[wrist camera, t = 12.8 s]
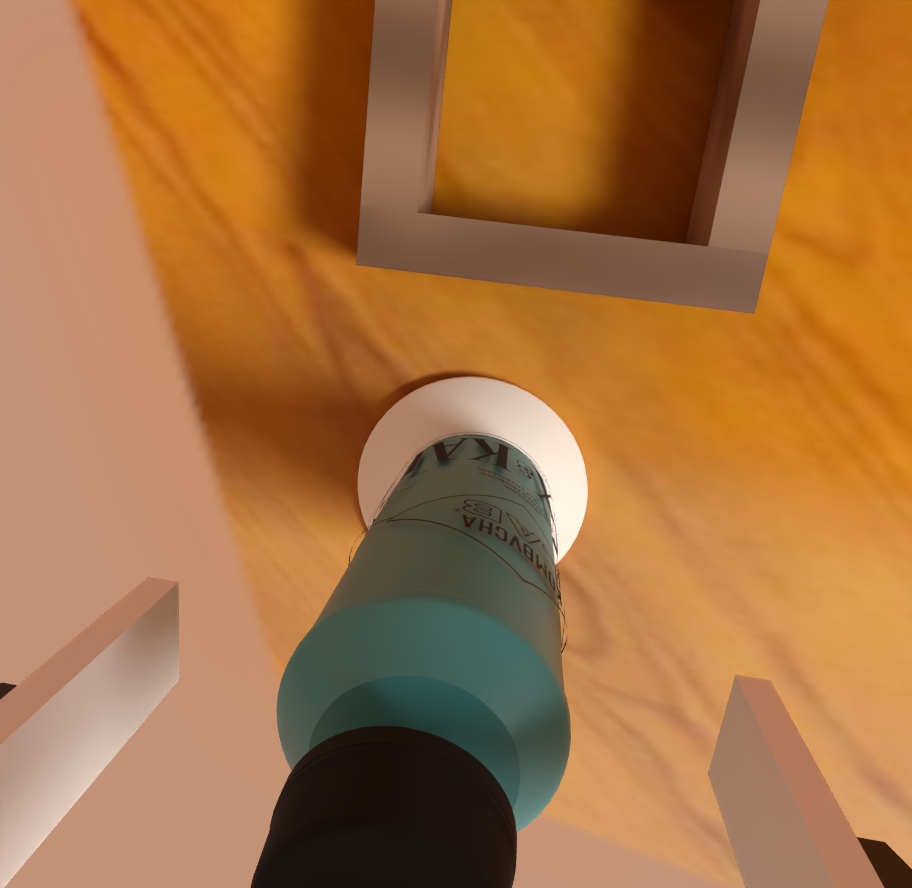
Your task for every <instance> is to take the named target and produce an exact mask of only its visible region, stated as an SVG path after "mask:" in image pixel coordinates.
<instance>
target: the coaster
mask: <svg viewBox="0 0 912 888" xmlns="http://www.w3.org/2000/svg"><path fill="white" fill-rule="evenodd" d="M461 432H466V433H461ZM476 432H481V433H476ZM453 433H456V434H453ZM485 433H487V434H485ZM450 434H451V435H450ZM463 434H479V435H487V436H491V437H495V438H498V439H501V440H503V441H505V442H507V443H509V444H511V445H513V446H514V447H516V448H517V449H519V450H520V451H521V452H523V454H524V455H526V456H528V458H530V459H531V460H532V461H533V462H534V463H533V462H532V463H533V464H535V465H536V466H537V467H538V468H539V467H540V468H539V469H538V468H537V467H536V466H535V467H536V468H537V470H538V471H539V470H540V471H541V472H540V471H539V473H540V475H541V477H542V478H543V481H544V483H545V486H546V489H547V493H548V495H551V498H552V499H553V500H552V499H551V498H549V502H550V507H551V511H552V515H554V514H555V516H554V517H553V520H554V523H553V521H552V518H551V513H550V518H551V525H552V526H551V528H553V529H552V531H553V532H554V533H553V532H552V537H553V538H554V539H555V544H556V534H557V544H558V559H557V554H556V550H555V547H554V544H553V550H554V557H555V558H554V561H555V565H556V563H558V562H559V561H560V560H561V559H562V557H563V556H564V555H565V554H566V552H567V551H568V550H569V548H570V547H571V545H572V543H573V542H574V540H575V538H576V537H577V534H578V532H579V530H580V527H581V525H582V522H583V518H584V514H585V510H586V503H587V477H586V471H585V465H584V462H583V459H582V456H581V452H580V449H579V447H578V445H577V443H576V440H575V438H574V436H573V434H572V433H571V431H570V430H569V428H568V427H567V425H566V424H565V422H564V421H563V420H562V419H561V418H560V416H559V415H558V414H557V413H556V412H555V411H554V410H553V409H552V408H551V407H550V406H549V405H547V404H546V403H545V402H544V401H543V400H541V399H540V398H538V397H537V396H535V395H534V394H532V393H531V392H529V391H527V390H525V389H523V388H521V387H519V386H517V385H515V384H512V383H509V382H506V381H503V380H499V379H494V378H489V377H479V376H461V377H452V378H447V379H442V380H438V381H435V382H432V383H429V384H426V385H424V386H422V387H420V388H418V389H416V390H414V391H412V392H411V393H409V394H408V395H406V396H405V397H403V398H402V399H400V400H399V401H398V402H397V403H396V404H395V405H394V406H392V407H391V408H390V409H389V410H388V411H387V412H386V414H385V415H384V416H383V417H382V418H381V419H380V421H379V422H378V423H377V425H376V426H375V428H374V429H373V431H372V432H371V434H370V436H369V438H368V440H367V442H366V445H365V447H364V450H363V453H362V456H361V460H360V464H359V471H358V497H359V504H360V508H361V512H362V516H363V519H364V521H365V524H366V526H367V527H368V531H369V529H370V526H371V525H372V523H373V519H374V520H375V519H376V518H377V516H378V514H379V513H380V511H381V510H382V508H383V506H384V505H385V503H386V502H384V504H383V505H382V503H383V501H385V500H386V499H388V497H390V495H391V494H392V493H391V492H393V490H394V488H395V487H396V486H397V484H398V482H399V481H400V479H401V478H402V476H403V474H404V473H405V471H406V470H407V468H408V466H409V465H410V464H411V462H412V461H413V460H414V459H415V457H416V455H417V454H419V453H420V452H421V451H423V450H425V449H426V448H427V447H429V446H430V445H429V444H431V445H432V444H434V443H433V442H437V440H442V439H444V438H448V437H451V436H455V435H463ZM490 434H492V435H490ZM446 435H447V436H446ZM494 435H496V436H494ZM442 436H444V437H442ZM497 436H499V437H497ZM440 437H441V438H440ZM500 437H501V438H500ZM503 438H504V439H503ZM435 439H436V440H435ZM505 439H506V440H505ZM433 440H434V441H433ZM507 440H508V441H507ZM431 441H432V442H431ZM509 441H510V442H509ZM511 442H512V443H511ZM513 443H514V444H513ZM426 444H427V445H426ZM515 444H516V445H517V446H516V445H515ZM423 446H424V447H425V448H424V447H423ZM519 447H520V448H519ZM422 448H423V449H422ZM419 449H420V450H421V451H420V450H419ZM522 449H523V450H524V451H525V452H524V451H523V450H522ZM417 452H418V453H417ZM416 453H417V454H416ZM529 455H530V456H531V457H532V458H531V457H530V456H529ZM413 457H414V458H413ZM412 458H413V459H412ZM407 463H408V464H407ZM406 464H407V465H406ZM537 464H538V465H537ZM405 465H406V466H405ZM404 466H405V467H404ZM402 468H403V470H402ZM542 471H543V472H542ZM400 472H401V473H400ZM543 473H544V474H543ZM398 474H399V475H398ZM542 475H543V476H544V475H545V476H544V477H543V476H542ZM396 478H397V479H396ZM395 479H396V480H397V481H396V480H395ZM545 480H546V481H545ZM393 482H394V484H393ZM546 482H547V483H546ZM392 484H393V485H392ZM547 484H548V485H547ZM391 485H392V487H391ZM394 486H395V487H394ZM549 486H550V487H549ZM390 487H391V488H393V490H392V489H391V488H390ZM389 489H390V490H389ZM550 489H551V490H550ZM388 490H389V491H388ZM390 491H391V492H390ZM387 492H388V493H387ZM549 492H551V493H549ZM386 493H387V494H386ZM389 494H390V495H389ZM385 495H386V497H387V498H386V497H385V498H386V499H383V498H384V496H385ZM388 495H389V496H388ZM382 499H383V501H382ZM381 501H382V502H381ZM386 501H387V500H386ZM380 503H381V504H380ZM379 504H380V505H379ZM381 505H382V507H381V508H379V507H380V506H381ZM378 506H379V507H378ZM553 506H554V507H553ZM377 508H378V509H377ZM379 509H380V510H379ZM378 510H379V511H378ZM373 513H374V514H373ZM375 513H376V514H375ZM372 515H373V516H372ZM374 516H375V517H374ZM368 521H369V522H368ZM552 523H553V524H552ZM554 524H556V532H555V526H553V525H554ZM368 525H369V526H368ZM556 549H557V545H556Z"/></svg>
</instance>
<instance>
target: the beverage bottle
mask: <svg viewBox="0 0 912 888" xmlns="http://www.w3.org/2000/svg"><path fill="white" fill-rule="evenodd" d="M461 433H466V432H461ZM476 433H481V432H476ZM453 434H456V433H453ZM485 434H487V433H485ZM450 435H451V434H450ZM490 435H492V434H490ZM446 436H447V435H446ZM494 436H496V435H494ZM442 437H444V436H442ZM497 437H499V436H497ZM440 438H441V437H440ZM500 438H501V437H500ZM503 439H504V438H503ZM435 440H436V439H435ZM505 440H506V439H505ZM433 441H434V440H433ZM507 441H508V440H507ZM431 442H432V441H431ZM509 442H510V441H509ZM433 443H434V444H432V445H431V444H429V445H430V446H429V447H427V448H426V449H425V450H423V451H421V450H420V449H419V450H420V451H421V452H420V453H419V454H417V453H418V452H417V453H416V454H417V455H416V457H415V459H414V460H413V461H412V462H411V464H410V465H409V466H408V468H407V470H406V471H405V473H404V474H403V476H402V478H401V479H400V481H399V482H398V484H397V486H396V487H395V486H394V487H395V488H394V490H393V488H391V487H392V485H393V484H394V482H393V484H392V485H391V487H390V488H391V489H392V490H393V492H391V491H390V492H391V493H392V494H391V495H390V494H389V495H390V497H388V499H386V498H387V497H386V495H385V496H384V498H383V499H386V500H387V501H386V500H385V501H383V499H382V501H383V503H382V505H383V504H384V502H386V503H385V505H384V506H383V508H382V510H381V511H380V513H379V514H378V516H377V518H376V519H375V520H374V519H373V523H372V525H371V526H370V529H369V531H368V532H366V533H367V534H366V535H365V537H364V539H363V540H362V542H361V544H360V545H359V547H358V549H357V551H356V553H355V555H354V558H353V560H352V561H351V563H350V565H349V566H348V568H347V570H346V572H345V573H344V575H343V577H342V578H341V580H340V582H339V583H338V585H337V587H336V588H335V590H334V592H333V594H332V595H331V597H330V599H329V600H328V602H327V604H326V605H325V607H324V609H323V610H322V612H321V614H320V616H319V617H318V619H317V621H316V622H315V624H314V626H313V627H312V629H311V630H310V631H309V632H308V633H307V635H306V636H305V637H304V638H303V640H302V641H301V642H300V643H299V645H298V647H297V648H296V650H295V652H294V653H293V655H292V657H291V658H290V660H289V662H288V664H287V667H286V669H285V672H284V674H283V677H282V679H281V683H280V688H279V692H278V699H277V723H278V732H279V737H280V741H281V746H282V749H283V752H284V754H285V757H286V760H287V762H288V764H289V766H290V768H291V770H292V772H291V773H290V775H289V776H288V779H287V781H286V783H285V785H284V788H283V790H282V792H281V794H280V796H279V799H278V801H277V804H276V806H275V809H274V812H273V816H272V820H271V824H270V831H269V834H268V837H267V840H266V842H265V845H264V848H263V851H262V854H261V856H260V859H259V862H258V865H257V868H256V870H255V873H254V876H253V880H252V884H251V888H512V885H513V881H514V875H515V869H516V854H517V832H518V831H519V830H521V829H523V828H524V827H526V826H527V825H528V824H530V823H531V822H532V821H533V820H534V819H535V818H536V817H537V816H538V815H539V814H540V813H541V812H542V811H543V809H544V808H545V807H546V806H547V804H548V803H549V802H550V801H551V799H552V797H553V795H554V794H555V792H556V790H557V789H558V787H559V784H560V782H561V779H562V777H563V775H564V772H565V769H566V765H567V761H568V757H569V751H570V742H571V730H570V714H569V708H568V703H567V698H566V696H565V693H564V683H563V669H562V656H561V654H562V652H563V650H564V648H563V650H562V652H561V646H562V644H561V626H560V614H559V609H560V608H559V603H558V600H559V599H560V602H561V593H560V595H558V594H559V592H560V591H561V590H558V586H557V583H558V582H557V577H559V574H560V573H558V575H557V576H556V568H557V567H558V566H557V567H556V568H555V566H556V565H555V561H554V558H555V557H554V550H553V544H554V547H555V550H556V554H557V559H558V544H557V534H556V544H555V539H554V538H553V537H552V532H553V531H552V529H553V528H551V526H552V525H551V518H552V521H553V523H554V520H553V517H554V516H555V514H554V515H552V511H551V507H550V502H549V498H551V495H548V493H547V489H546V486H545V483H544V481H543V478H542V477H541V475H540V473H539V471H540V470H539V471H538V470H537V468H538V467H537V466H536V465H535V464H533V463H534V462H533V461H532V460H531V459H530V458H528V456H526V455H524V454H523V452H521V451H520V450H519V449H517V448H516V447H514V446H513V445H511V444H509V443H507V442H505V441H503V440H501V439H498V438H495V437H491V436H487V435H479V434H463V435H455V436H451V437H448V438H444V439H442V440H437V442H433ZM511 443H512V442H511ZM513 444H514V443H513ZM426 445H427V444H426ZM515 445H516V444H515ZM516 446H517V445H516ZM423 447H424V446H423ZM424 448H425V447H424ZM519 448H520V447H519ZM422 449H423V448H422ZM522 450H523V449H522ZM523 451H524V450H523ZM524 452H525V451H524ZM529 456H530V455H529ZM530 457H531V456H530ZM413 458H414V457H413ZM413 458H412V459H413ZM531 458H532V457H531ZM532 462H533V463H532ZM407 464H408V463H407ZM407 464H406V465H407ZM406 465H405V466H406ZM537 465H538V464H537ZM405 466H404V467H405ZM535 466H536V467H537V468H536V467H535ZM539 468H540V467H539ZM539 468H538V469H539ZM402 470H403V468H402ZM540 472H541V471H540ZM542 472H543V471H542ZM400 473H401V472H400ZM543 474H544V473H543ZM398 475H399V474H398ZM542 476H543V475H542ZM544 476H545V475H544ZM544 476H543V477H544ZM396 479H397V478H396ZM396 479H395V480H396ZM396 481H397V480H396ZM545 481H546V480H545ZM546 483H547V482H546ZM547 485H548V484H547ZM549 487H550V486H549ZM389 490H390V489H389ZM389 490H388V491H389ZM550 490H551V489H550ZM387 493H388V492H387ZM387 493H386V494H387ZM549 493H551V492H549ZM389 495H388V496H389ZM385 497H386V498H385ZM551 499H552V498H551ZM552 500H553V499H552ZM382 501H381V502H382ZM380 504H381V503H380ZM380 504H379V505H380ZM382 505H381V506H380V507H379V506H378V507H379V508H381V507H382ZM553 507H554V506H553ZM377 509H378V508H377ZM379 510H380V509H379ZM379 510H378V511H379ZM550 513H551V518H550ZM373 514H374V513H373ZM375 514H376V513H375ZM372 516H373V515H372ZM374 517H375V516H374ZM368 522H369V521H368ZM553 523H552V524H553ZM365 526H366V525H365ZM368 526H369V525H368ZM553 526H555V532H556V524H554V525H553ZM367 529H368V527H367ZM367 529H366V530H367ZM363 530H364V529H363ZM363 532H364V531H362V533H363ZM553 533H554V532H553ZM361 535H362V534H361ZM355 542H356V541H355ZM556 545H557V549H556ZM351 550H352V549H351ZM350 554H351V553H350ZM349 562H350V556H349ZM556 564H557V563H556ZM557 571H559V570H557ZM560 578H561V577H560ZM558 585H560V581H559V584H558ZM559 588H560V587H559ZM562 589H563V588H562ZM557 590H558V593H557ZM563 596H564V595H563ZM561 607H562V603H561ZM564 609H565V608H564ZM560 610H561V609H560ZM561 612H562V611H561ZM562 614H563V613H562ZM563 616H564V624H565V622H566V621H565V612H564V615H563ZM566 626H567V625H566ZM563 632H564V629H563ZM562 641H563V638H562ZM566 642H567V639H566ZM565 645H566V643H565ZM565 645H564V647H565Z"/></svg>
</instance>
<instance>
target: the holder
mask: <svg viewBox="0 0 912 888" xmlns="http://www.w3.org/2000/svg"><path fill="white" fill-rule="evenodd" d="M827 4H828V0H734V4H733V9H732V14H731V19H730V24H729V29H728V34H727V39H726V44H725V49H724V53H723V58H722V63H721V68H720V73H719V78H718V83H717V88H716V93H715V98H714V103H713V108H712V113H711V118H710V123H709V128H708V133H707V138H706V142H705V147H704V152H703V157H702V162H701V167H700V172H699V177H698V182H697V187H696V192H695V197H694V202H693V207H692V212H691V217H690V222H689V227H688V232H687V236H686V241H685V244H682V243H673V242H665V241H656V240H648V239H639V238H631V237H622V236H613V235H605V234H596V233H588V232H579V231H570V230H562V229H553V228H545V227H536V226H528V225H519V224H510V223H502V222H493V221H485V220H476V219H468V218H459V217H450V216H442V215H433V214H431V208H432V198H433V188H434V178H435V168H436V158H437V148H438V138H439V128H440V118H441V108H442V98H443V88H444V78H445V68H446V57H447V47H448V37H449V27H450V17H451V7H452V0H375V8H374V22H373V36H372V50H371V64H370V78H369V92H368V106H367V120H366V134H365V148H364V162H363V176H362V190H361V204H360V218H359V232H358V246H357V260H356V265H361V266H369V267H377V268H385V269H394V270H402V271H410V272H418V273H426V274H434V275H443V276H451V277H459V278H467V279H475V280H483V281H492V282H500V283H508V284H516V285H524V286H532V287H541V288H549V289H557V290H565V291H573V292H581V293H590V294H598V295H606V296H614V297H622V298H630V299H639V300H647V301H655V302H663V303H671V304H679V305H688V306H696V307H704V308H712V309H720V310H728V311H737V312H745V313H753V314H754V313H755V309H756V304H757V300H758V296H759V292H760V288H761V283H762V279H763V275H764V271H765V266H766V262H767V258H768V254H769V249H770V245H771V241H772V237H773V233H774V228H775V224H776V220H777V216H778V211H779V207H780V203H781V199H782V194H783V190H784V186H785V182H786V178H787V173H788V169H789V165H790V161H791V156H792V152H793V148H794V144H795V140H796V135H797V131H798V127H799V123H800V118H801V114H802V110H803V106H804V101H805V97H806V93H807V89H808V85H809V80H810V76H811V72H812V68H813V63H814V59H815V55H816V51H817V46H818V42H819V38H820V34H821V30H822V25H823V21H824V17H825V13H826V8H827Z"/></svg>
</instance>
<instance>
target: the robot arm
mask: <svg viewBox="0 0 912 888" xmlns="http://www.w3.org/2000/svg"><path fill="white" fill-rule="evenodd" d="M178 602H179V601H178V582H175V581H169V580H163V579H157V578H151V577H148V578H146V579H145V580H144V581H143V582H142V583H140V584H139V585H138V586H137V587H136V588H134V589H133V590H132V591H131V592H130V593H128V594H127V595H126V596H125V597H124V598H122V599H121V600H120V601H119V602H117V603H116V604H115V605H114V606H113V607H111V608H110V609H109V610H108V611H107V612H105V613H104V614H103V615H102V616H101V617H99V618H98V619H97V620H96V621H95V622H93V623H92V624H91V625H90V626H89V627H87V628H86V629H85V630H84V631H82V632H81V633H80V634H79V635H78V636H77V637H75V638H74V639H73V640H72V641H70V642H69V643H68V644H67V645H66V646H65V647H63V648H62V649H61V650H60V651H58V652H57V653H56V654H55V655H54V656H52V657H51V658H50V659H49V660H48V661H46V662H45V663H44V664H43V665H41V666H40V667H39V668H38V669H37V670H36V671H34V672H33V673H32V674H31V675H29V676H28V677H27V678H26V679H25V680H23V681H22V682H21V683H20V684H19V685H12V684H7V683H0V888H4V887H5V886H6V885H7V883H8V882H9V881H10V880H11V878H12V877H13V876H14V875H15V874H16V873H17V871H18V870H19V869H20V868H21V867H22V866H23V864H24V863H25V862H26V861H27V860H28V858H29V857H30V856H31V855H32V854H33V852H34V851H35V850H36V849H37V848H38V847H39V845H40V844H41V843H42V842H43V840H44V839H45V838H46V837H47V836H48V835H49V833H50V832H51V831H52V830H53V829H54V828H55V826H56V825H57V824H58V823H59V821H60V820H61V819H62V818H63V817H64V816H65V814H66V813H67V812H68V811H69V810H70V809H71V807H72V806H73V805H74V804H75V803H76V801H77V800H78V799H79V798H80V797H81V795H82V794H83V793H84V792H85V791H86V789H87V788H88V787H89V786H90V785H91V784H92V782H93V781H94V780H95V779H96V778H97V776H98V775H99V774H100V773H101V772H102V770H103V769H104V768H105V767H106V766H107V765H108V763H109V762H110V761H111V760H112V759H113V757H114V756H115V755H116V754H117V753H118V751H119V750H120V749H121V748H122V747H123V745H124V744H125V743H126V742H127V741H128V740H129V738H130V737H131V736H132V735H133V734H134V732H135V731H136V730H137V729H138V728H139V727H140V725H141V724H142V723H143V722H144V720H145V719H146V718H147V717H148V716H149V715H150V713H151V712H152V711H153V710H154V709H155V707H156V706H157V705H158V704H159V703H160V702H161V700H162V699H163V698H164V697H165V696H166V694H167V693H168V692H169V691H170V690H171V688H172V687H173V686H174V685H175V684H176V683H177V681H178V680H179V608H178V607H179V603H178ZM708 775H709V778H710V781H711V784H712V787H713V790H714V793H715V796H716V799H717V802H718V805H719V808H720V811H721V814H722V818H723V821H724V824H725V827H726V830H727V833H728V836H729V839H730V842H731V845H732V848H733V851H734V854H735V857H736V860H737V863H738V866H739V869H740V872H741V875H742V878H743V881H744V884H745V887H746V888H912V869H911V868H910V867H909V866H908V865H907V864H906V863H905V862H904V861H903V860H902V859H901V858H900V857H899V856H898V855H897V854H896V853H895V852H894V851H893V850H892V849H891V848H890V847H889V846H888V845H887V844H886V843H885V842H881V841H875V840H870V839H864V838H859V837H856V835H855V833H854V832H853V830H852V828H851V826H850V824H849V822H848V821H847V819H846V817H845V815H844V813H843V812H842V810H841V808H840V806H839V804H838V802H837V801H836V799H835V797H834V795H833V793H832V792H831V790H830V788H829V786H828V784H827V782H826V781H825V779H824V777H823V775H822V773H821V772H820V770H819V768H818V766H817V764H816V762H815V761H814V759H813V757H812V755H811V753H810V752H809V750H808V748H807V746H806V744H805V742H804V741H803V739H802V737H801V735H800V733H799V732H798V730H797V728H796V726H795V724H794V722H793V721H792V719H791V717H790V715H789V713H788V712H787V710H786V708H785V706H784V704H783V702H782V701H781V699H780V697H779V695H778V693H777V692H776V690H775V688H774V686H773V684H772V682H771V681H770V680H764V679H758V678H752V677H746V676H740V675H735V678H734V682H733V685H732V689H731V693H730V696H729V700H728V704H727V707H726V711H725V714H724V718H723V722H722V725H721V729H720V732H719V736H718V740H717V743H716V747H715V751H714V754H713V758H712V761H711V765H710V769H709V772H708Z"/></svg>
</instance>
